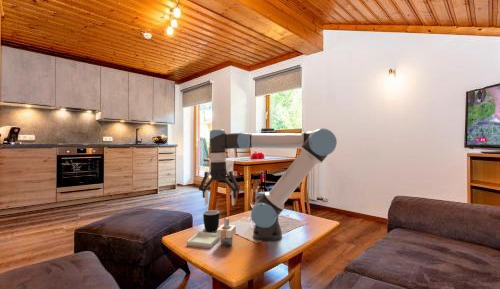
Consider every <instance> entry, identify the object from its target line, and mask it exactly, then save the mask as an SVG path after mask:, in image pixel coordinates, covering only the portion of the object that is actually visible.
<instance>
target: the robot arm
mask: <svg viewBox="0 0 500 289" xmlns="http://www.w3.org/2000/svg"><path fill="white" fill-rule="evenodd" d="M337 140H338V139H337V136H336V135H335V133H333V131H331V130H330V129H328V128H324V127H321V128H317V129H315V130H312V131H302V132H300V133H248V132H236V133H235V132H233V133H227V132H226V130H224V129H211V130H210V131H209V154H210V157H209V158H210V159H209V160H210V171H209V170H206V171H204V175H203V178H202V181H201V183H200V186H198V187H199V188H198V190H199V191H201V192H202V198H203V199H204V206H207V205H208V204H209V191H208V190H207V189H208V188H209V187H210V186H211V184H213V182H214V181H216V182H217V181H220V182H221V181H224V183H225V184H226V185H227V186H228V188H230V189H231V191H230V193H231V194H230V195H231V206H235V204H236V203H235V199H236V198H237V191H239V190H240V189H241V188H240V185H239V184H238V182H237V179H236V178H235V176H234V172H233V170H230V171H227V162H226V160H227V158H226V155H227V153H226V150H232V149H233V150H235V149H236V150H237V149H238V150H239V149H240V150H244V149H300V150H301V151H300V153H299V154H298V155H297V157H296V158H295V159H294V160H293V161H292V163H291V164H290V165H289V167H288V168H287V169H286V171H285V172H284V173H283V174H282V175H281V177H280V178H279V179H278V180H277V182H276V183H275V184H274V186H273V187H272V188H271V189H270V190H269V191H260V192H259V191H258V192H257V193H256V196H255V200H256V201H255V204H254V205H253V206H252V208H251V212H250V213H251V214H250V217H251V220H252V222H253V223H254V228H253V232H252V234H253V235H252V236H253V237H254V239H256V238H257V239H256V240H258V239H259V241H263V242H274V241H277V240H280V239H281V238H282V237H283V236H282V235H283V232H282V228H281V225H280V221H279V215H280V214H281V213H282V212H283V211H284V209H285V202H287V201H288V199H289V198H290V196H292V195H293V193H294V191H295V190H296V189H297V188H298V187H299V186H300V184H301V183H302V182H303V181H304V180H305V178H306V177H307V176H308V175H309V173H310V172H311V171H312V170H313V169H314V167H315V166H316V165H318V164H321V163H323V162H324V161H325V159H326V158H327V157H328V156H329V155H331V153H333V152H334V151H335V149H336V147H337V144H338V142H337ZM227 175H228V176H229V178H230V180H231V181H230V180H229V179H228V177H227ZM209 176H211V178H210V179H209V181H208V182H207V180H208V178H209ZM205 184H206V185H205Z"/></svg>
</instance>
